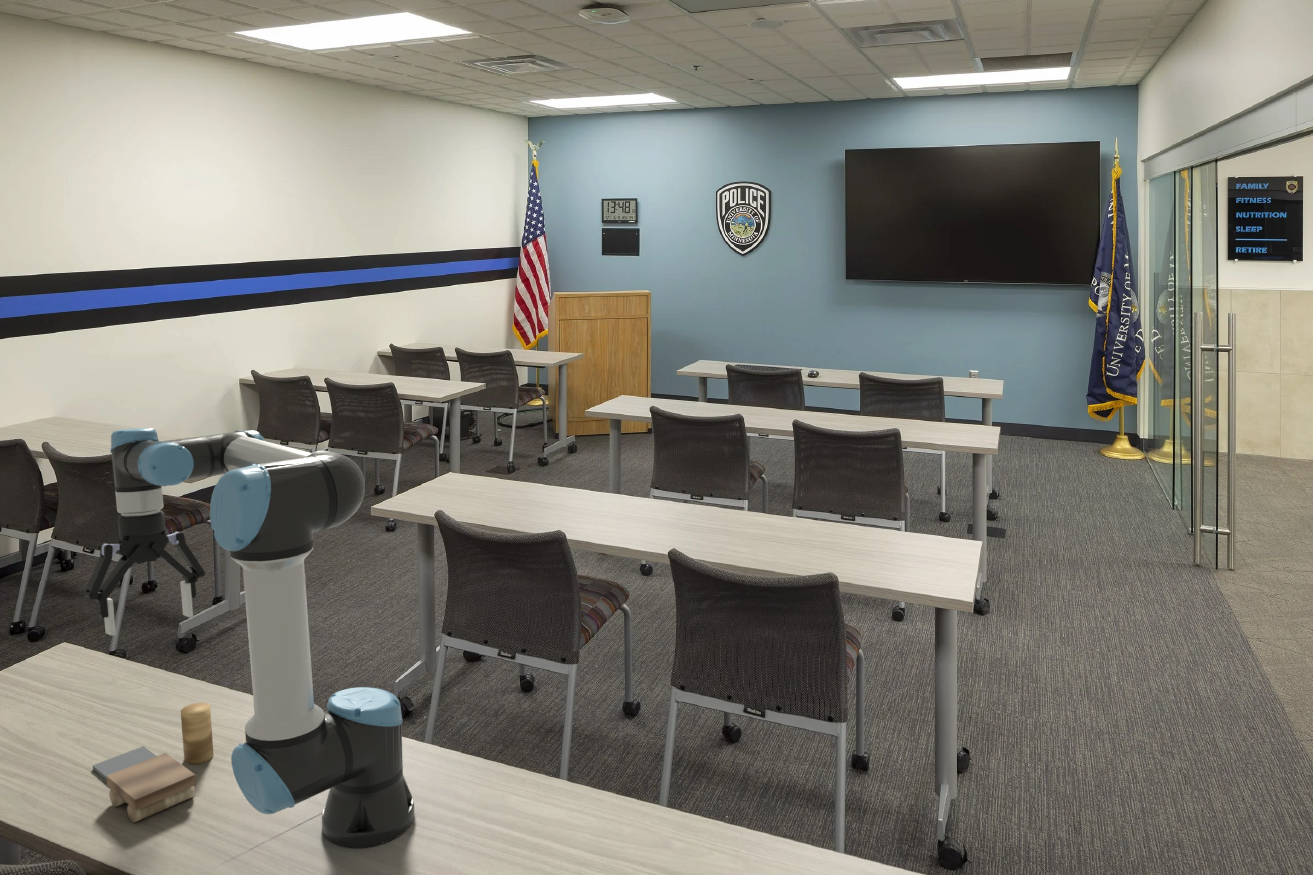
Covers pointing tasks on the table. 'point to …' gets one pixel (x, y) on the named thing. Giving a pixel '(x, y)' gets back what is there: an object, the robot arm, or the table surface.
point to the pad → (122, 761)
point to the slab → (151, 786)
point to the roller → (197, 733)
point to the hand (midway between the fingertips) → (150, 624)
